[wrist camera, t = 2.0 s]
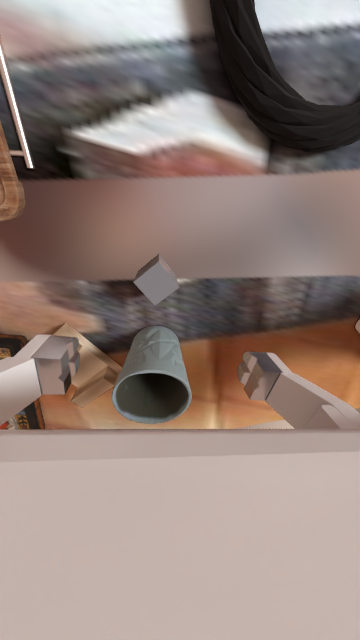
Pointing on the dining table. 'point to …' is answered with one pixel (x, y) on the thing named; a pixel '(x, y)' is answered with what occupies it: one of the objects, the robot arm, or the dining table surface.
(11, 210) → the chopping board
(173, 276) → the grey rectangular block
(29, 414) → the religious icon
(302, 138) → the cable lock
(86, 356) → the notch board
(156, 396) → the grey hollow cylinder
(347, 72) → the dining table surface
